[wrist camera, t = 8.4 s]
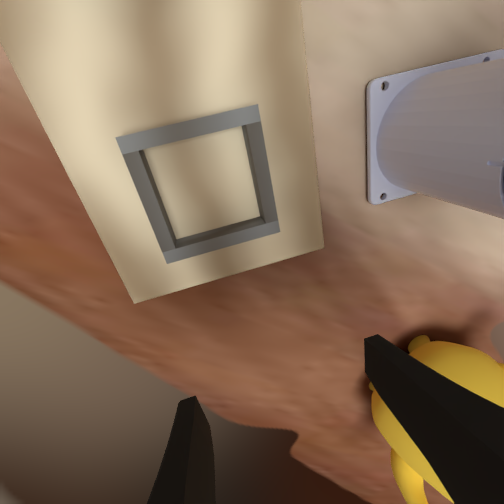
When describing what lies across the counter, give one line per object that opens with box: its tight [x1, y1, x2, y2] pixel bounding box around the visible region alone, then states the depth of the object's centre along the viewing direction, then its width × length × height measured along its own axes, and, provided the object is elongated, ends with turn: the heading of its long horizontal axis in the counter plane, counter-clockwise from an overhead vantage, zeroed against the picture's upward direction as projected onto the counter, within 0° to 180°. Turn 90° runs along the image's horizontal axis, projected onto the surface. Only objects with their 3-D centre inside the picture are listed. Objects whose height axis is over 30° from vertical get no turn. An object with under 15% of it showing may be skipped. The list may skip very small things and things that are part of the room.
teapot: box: [369, 335, 504, 504], centre depth 25 cm, size 13×20×12 cm
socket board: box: [0, 0, 324, 304], centre depth 13 cm, size 14×26×2 cm, turn 12°
